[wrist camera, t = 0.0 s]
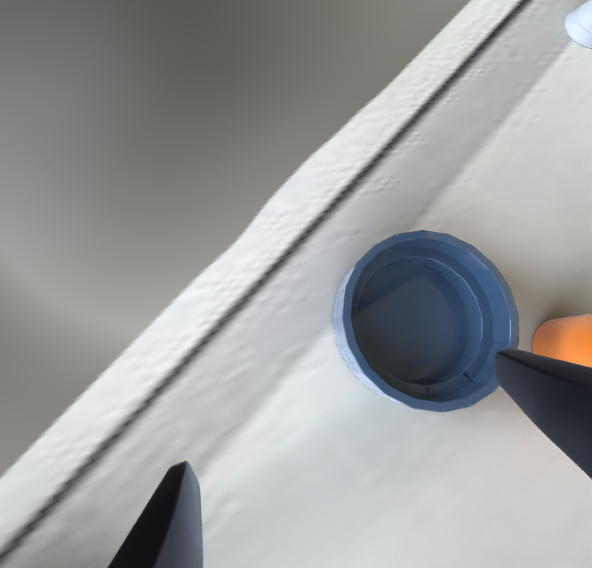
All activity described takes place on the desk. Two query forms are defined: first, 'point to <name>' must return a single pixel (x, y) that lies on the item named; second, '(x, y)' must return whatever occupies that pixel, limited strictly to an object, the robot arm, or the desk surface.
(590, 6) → the chalice
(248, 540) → the desk surface
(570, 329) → the orange bottle
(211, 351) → the desk surface
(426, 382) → the bowl
